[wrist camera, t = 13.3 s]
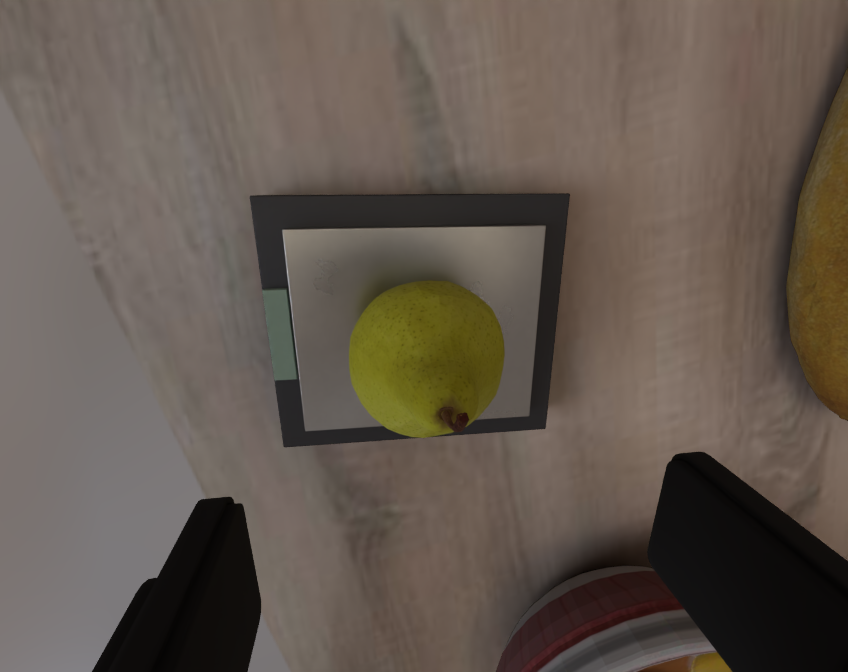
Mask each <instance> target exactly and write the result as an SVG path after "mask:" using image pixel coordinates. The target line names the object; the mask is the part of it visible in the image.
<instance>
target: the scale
mask: <svg viewBox="0 0 848 672" xmlns="http://www.w3.org/2000/svg"><path fill="white" fill-rule="evenodd" d="M569 197H570V194H403V195H257V196H250V202H251V210H252V217H253V224H254V232H255V239H256V246H257V254H258V261H259V269H260V276H261V283H262V292H263V300H264V307H265V314H266V322H267V329H268V336H269V344H270V351H271V358H272V366H273V373H274V380H275V386H276V394H277V401H278V408H279V416H280V423H281V430H282V438H283V445H284V447H296V446H310V445H324V444H338V443H352V442H366V441H380V440H394V439H408V438H420V437H410V436H406V435H402V434H399V433H396V432H394V431H391V430H389V429H387V428H386V427H384V426H378V427H363V428H348V429H333V430H318V431H305V426H304V417H303V408H302V400H301V391H300V382H299V373H298V365H297V356H296V347H295V339H294V330H293V321H292V312H291V304H290V295H289V286H288V277H287V269H286V260H285V251H284V243H283V234H282V229H285V228H311V227H379V226H447V225H515V224H542V225H546V231H545V243H544V254H543V265H542V277H541V288H540V299H539V311H538V322H537V333H536V345H535V356H534V368H533V379H532V390H531V402H530V413H529V416H527V417H512V418H497V419H482V420H474V421H473V422H472V423H471V424H469V425H468V426H467V427H465V428H464V430H463V431H462V432H452V433H448V434H443V435H438V436H451V435H465V434H479V433H493V432H507V431H521V430H535V429H545V428H546V419H547V409H548V399H549V390H550V380H551V370H552V361H553V351H554V342H555V332H556V322H557V313H558V303H559V293H560V284H561V274H562V264H563V255H564V245H565V236H566V226H567V216H568V207H569ZM432 437H437V436H432Z"/></svg>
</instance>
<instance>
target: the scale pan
mask: <svg viewBox="0 0 848 672" xmlns="http://www.w3.org/2000/svg"><path fill="white" fill-rule="evenodd" d="M545 231H546V225H542V224H515V225H447V226H379V227H311V228H285V229H282V234H283V243H284V251H285V260H286V269H287V277H288V286H289V295H290V304H291V312H292V321H293V330H294V339H295V347H296V356H297V365H298V373H299V382H300V391H301V400H302V408H303V417H304V426H305V431H318V430H333V429H348V428H363V427H378V426H383V425H382V424H381V423H379V422H378V421H377V420H376V419H374V418H373V417H372V416H371V415H370V414H369V413H368V411H367V410H366V409H365V408H364V406H363V405H362V404H361V402H360V400H359V398H358V396H357V394H356V392H355V390H354V388H353V386H352V383H351V377H350V371H349V346H350V336H351V334H352V332H353V330H354V327H355V325H356V323H357V321H358V320H359V318H360V316H361V315H362V313H363V312H364V310H365V309H366V308H367V307H368V305H369V304H370V303H371V302H372V301H373V300H374V299H375V298H376V297H377V296H379V295H380V294H382V293H383V292H385V291H387V290H389V289H391V288H394V287H396V286H399V285H402V284H406V283H411V282H416V281H427V280H432V281H449V282H452V283H454V284H457V285H460V286H462V287H464V288H466V289H467V290H469V291H470V292H472V293H474V294H475V295H477V296H478V297H480V298H481V299H482V300H483V301H484V302H485V303H487V304H488V305H489V306H490V307H491V308H492V310H493V311H494V313H495V316H496V318H497V320H498V322H499V324H500V326H501V330H502V334H503V339H504V349H505V357H504V365H503V371H502V376H501V380H500V385H499V388H498V391H497V394H496V396H495V397H494V399H493V400H492V401H491V403H490V404H489V406H488V407H487V408H486V409H485V410H484V412H483V413H482V414H481V415H480V416H479V417H478V418H477V419H476V420H482V419H497V418H512V417H527V416H529V413H530V402H531V390H532V379H533V368H534V356H535V345H536V333H537V322H538V311H539V299H540V288H541V277H542V265H543V254H544V243H545Z"/></svg>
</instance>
